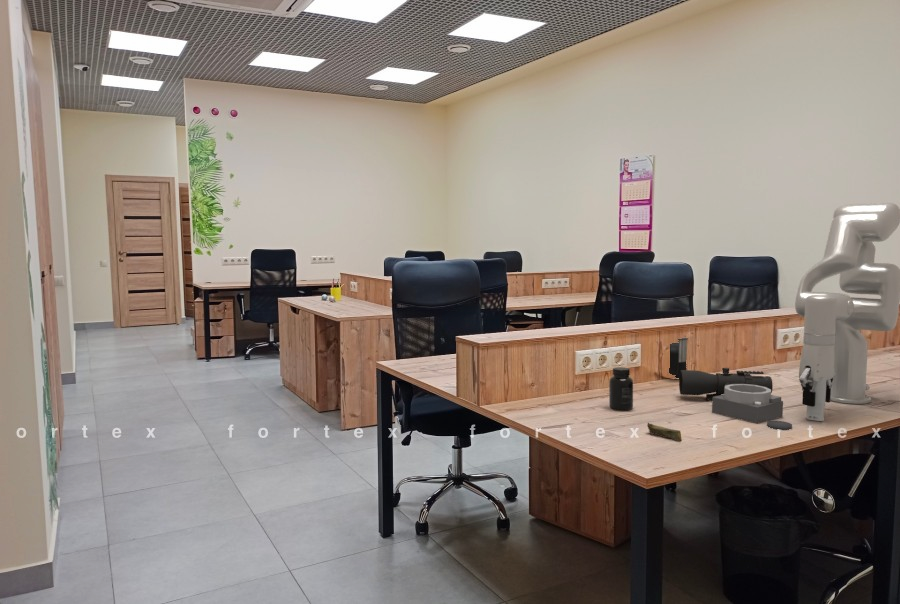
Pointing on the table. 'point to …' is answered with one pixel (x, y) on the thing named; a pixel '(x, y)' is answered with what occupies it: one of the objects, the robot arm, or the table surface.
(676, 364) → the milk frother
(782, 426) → the lens cap
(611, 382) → the supplement bottle
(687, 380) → the rifle scope
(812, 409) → the skincare box
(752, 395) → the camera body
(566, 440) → the table surface
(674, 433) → the snack bar
